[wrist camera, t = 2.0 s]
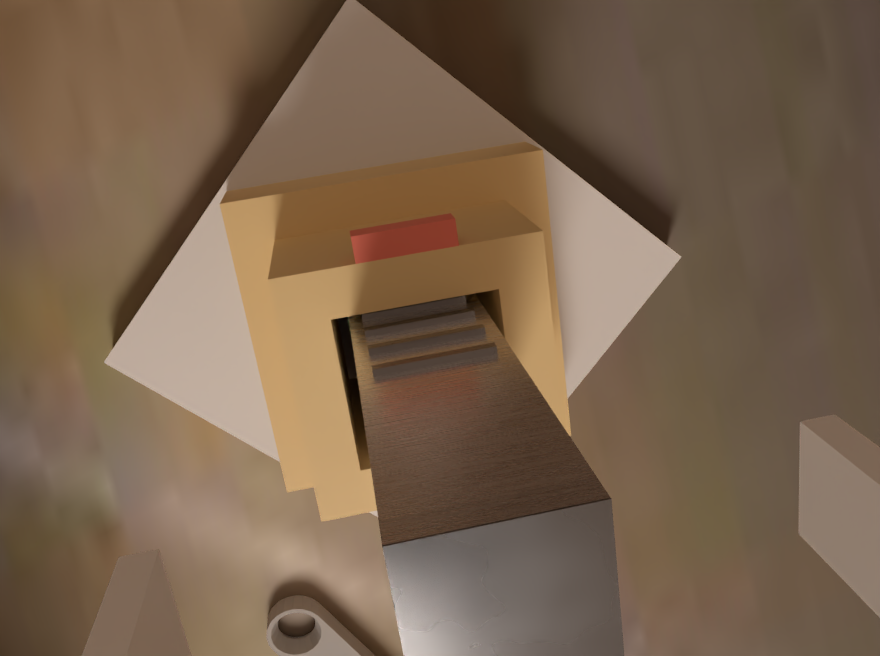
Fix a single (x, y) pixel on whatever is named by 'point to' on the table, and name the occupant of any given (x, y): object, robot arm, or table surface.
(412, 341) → the column
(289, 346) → the stand
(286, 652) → the adjustable wrench
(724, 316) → the table surface
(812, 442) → the robot arm
